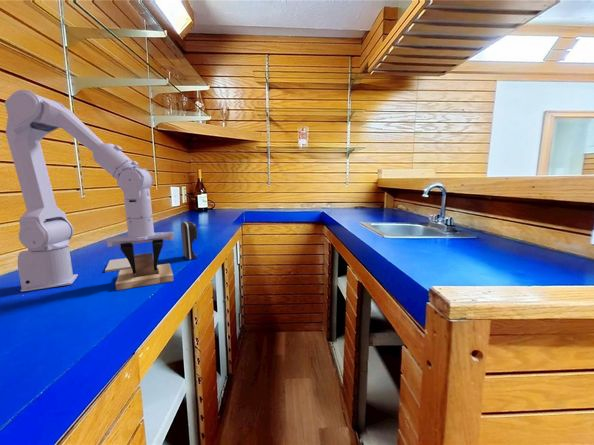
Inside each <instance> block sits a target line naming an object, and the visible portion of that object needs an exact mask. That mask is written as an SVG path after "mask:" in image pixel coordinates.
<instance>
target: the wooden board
mask: <svg viewBox="0 0 594 445" xmlns="http://www.w3.org/2000/svg"><path fill="white" fill-rule="evenodd" d="M118 271H119V272H118V274H117V278H116V281H115V291H122V290H127V289H134V288H138V287H139V288H140V287H147V286H150V285H156V284H157V285H158V284H163V283H169V282H174V274H173V273H174V272H173V270H172V267H171V263H163V264H157V270H156V271H154V273H155V274H154V275H148V276H141V277H136V273H135V274H133V271H132V269H125V270H118Z"/></svg>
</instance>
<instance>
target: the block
mask: <svg viewBox="0 0 594 445" xmlns="http://www.w3.org/2000/svg"><path fill="white" fill-rule="evenodd" d="M134 260H135V269H136V277H141V276H148V275H154V274H155V273H154V264H153V262H154V261H153V252H147V253H138V254H134Z"/></svg>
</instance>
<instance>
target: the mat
mask: <svg viewBox="0 0 594 445" xmlns="http://www.w3.org/2000/svg"><path fill="white" fill-rule="evenodd" d="M153 264H154V261H153ZM126 269H132V268H131V265H130V263H129V261H128V259H127V258H126V257H125V258H117V259H116V258H115V259H110V260H109V261H108V263H107V266H106V267H105V269H104V272H105V273H111V272H118V271H120V270H126Z"/></svg>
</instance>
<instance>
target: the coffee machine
mask: <svg viewBox="0 0 594 445" xmlns="http://www.w3.org/2000/svg"><path fill="white" fill-rule="evenodd" d="M180 230H181V231H180V232H181V234H180V235H181V242H182V243H181V244H182V254H183V256H184V258H186V259H187V260H194V259H197V257H198V254H196V253H194V251H193V243H194V241H195V240H198V238H199V236H198V229H197V225H196V224H195V223H194V222H192V221H182V222H181V223H180Z"/></svg>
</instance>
